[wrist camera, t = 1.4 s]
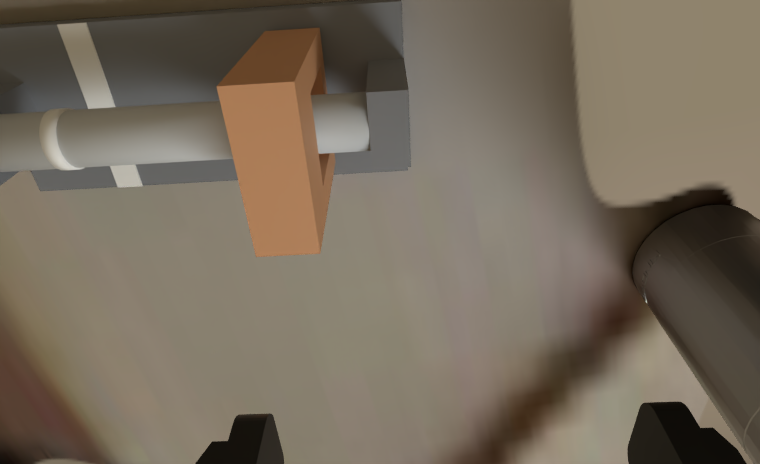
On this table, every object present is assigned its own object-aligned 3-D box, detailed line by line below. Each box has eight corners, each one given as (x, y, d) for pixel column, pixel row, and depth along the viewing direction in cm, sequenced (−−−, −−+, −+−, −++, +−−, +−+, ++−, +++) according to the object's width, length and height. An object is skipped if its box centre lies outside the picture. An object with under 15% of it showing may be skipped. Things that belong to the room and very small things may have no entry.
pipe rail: (400, -3, 29) (406, 23, 23) (406, 162, 34) (412, 217, 28) (-21, 26, 30) (-123, 57, 24) (50, 182, 35) (-18, 241, 29)
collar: (319, 27, 28) (294, 81, 20) (335, 162, 33) (320, 253, 24) (264, 31, 28) (216, 86, 20) (287, 164, 33) (256, 256, 24)
